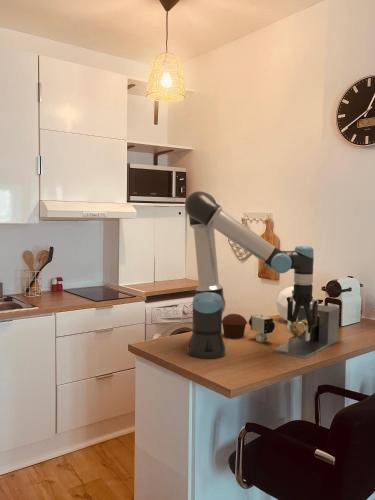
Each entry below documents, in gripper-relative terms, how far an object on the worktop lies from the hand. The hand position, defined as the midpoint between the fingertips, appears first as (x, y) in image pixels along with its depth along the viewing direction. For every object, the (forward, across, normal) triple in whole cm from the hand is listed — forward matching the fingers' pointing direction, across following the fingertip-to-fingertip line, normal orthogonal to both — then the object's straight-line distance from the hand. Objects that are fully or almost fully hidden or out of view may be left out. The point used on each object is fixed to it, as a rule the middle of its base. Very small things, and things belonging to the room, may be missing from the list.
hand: (301, 339), depth 184 cm
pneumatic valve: (+4, +18, +1) cm, 19 cm away
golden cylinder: (-2, 0, -3) cm, 3 cm away
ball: (+4, +24, -44) cm, 50 cm away
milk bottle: (+4, +15, -26) cm, 30 cm away
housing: (+4, 0, -6) cm, 7 cm away
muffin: (+4, +32, +2) cm, 32 cm away
